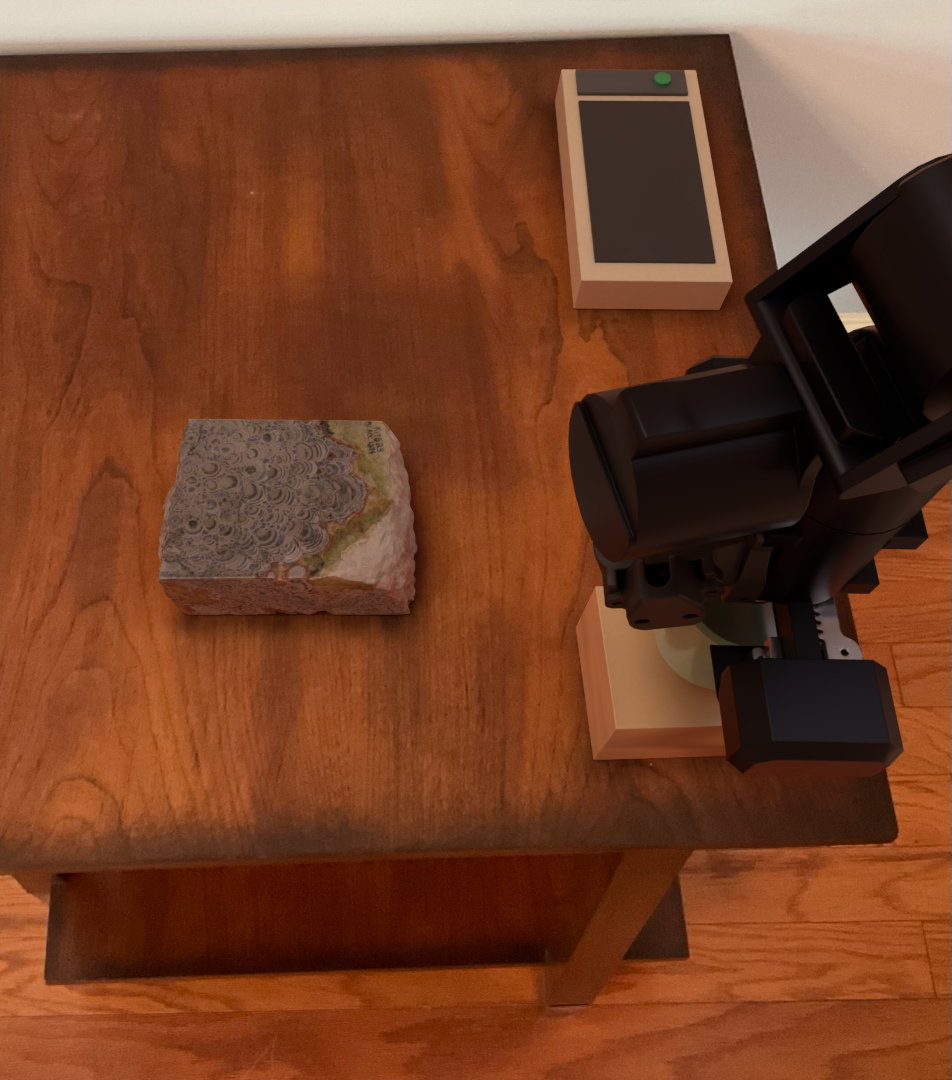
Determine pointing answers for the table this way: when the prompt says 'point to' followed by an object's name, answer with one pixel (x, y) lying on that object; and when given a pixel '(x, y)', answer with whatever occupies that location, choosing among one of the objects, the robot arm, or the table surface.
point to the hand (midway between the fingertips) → (720, 625)
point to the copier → (639, 191)
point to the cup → (714, 637)
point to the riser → (640, 693)
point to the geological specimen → (288, 519)
